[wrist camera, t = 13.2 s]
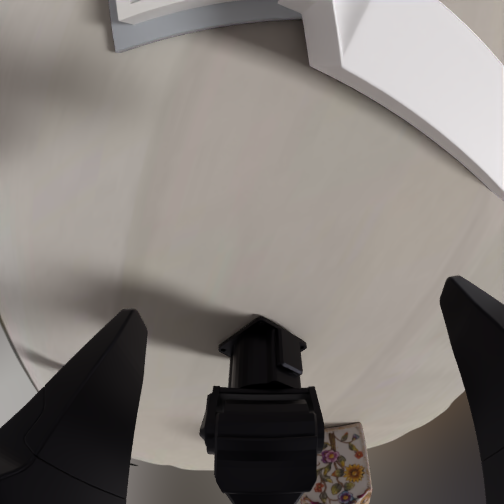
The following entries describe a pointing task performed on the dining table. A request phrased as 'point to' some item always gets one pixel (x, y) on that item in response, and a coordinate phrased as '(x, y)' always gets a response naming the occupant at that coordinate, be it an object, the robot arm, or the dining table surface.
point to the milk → (416, 72)
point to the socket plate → (185, 18)
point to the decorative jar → (342, 468)
